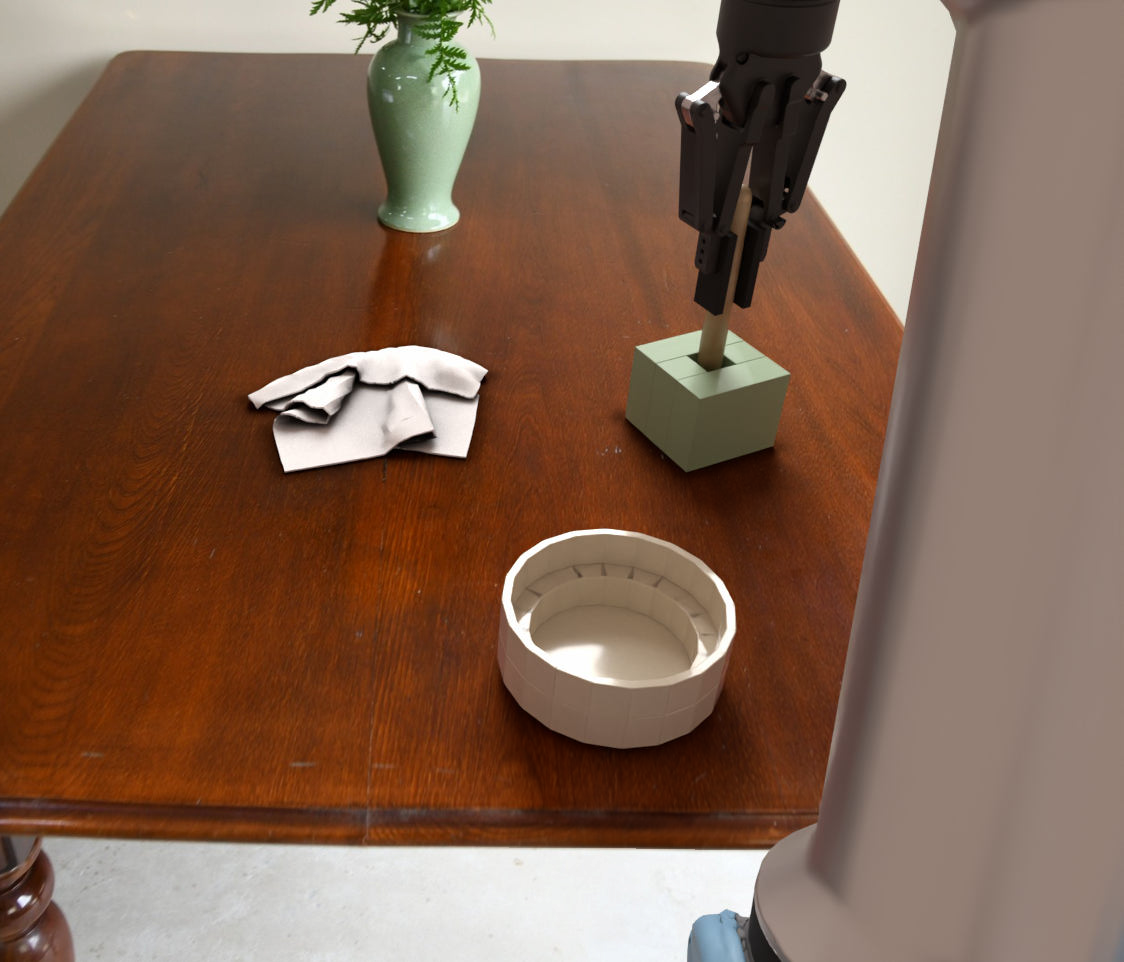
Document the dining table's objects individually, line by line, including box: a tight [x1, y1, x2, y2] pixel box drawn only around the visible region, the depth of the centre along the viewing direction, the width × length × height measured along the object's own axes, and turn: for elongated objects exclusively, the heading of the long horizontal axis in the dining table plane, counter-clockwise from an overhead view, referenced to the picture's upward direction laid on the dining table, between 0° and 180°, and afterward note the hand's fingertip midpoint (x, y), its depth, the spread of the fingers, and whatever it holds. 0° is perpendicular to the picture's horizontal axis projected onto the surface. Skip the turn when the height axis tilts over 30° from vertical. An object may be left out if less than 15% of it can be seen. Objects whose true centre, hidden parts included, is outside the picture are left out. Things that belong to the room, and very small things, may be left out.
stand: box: [624, 329, 792, 473], centre depth 93 cm, size 9×9×7 cm
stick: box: [697, 183, 752, 372], centre depth 88 cm, size 2×2×18 cm
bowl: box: [496, 528, 738, 750], centre depth 71 cm, size 14×14×6 cm
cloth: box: [247, 345, 489, 474], centre depth 97 cm, size 20×22×2 cm
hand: (722, 303), depth 88 cm, fingers closed on stick, 2 cm apart
